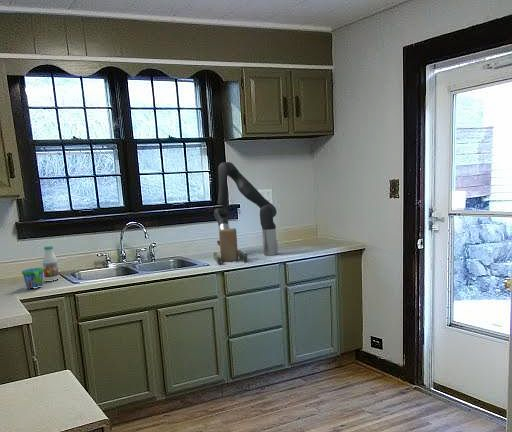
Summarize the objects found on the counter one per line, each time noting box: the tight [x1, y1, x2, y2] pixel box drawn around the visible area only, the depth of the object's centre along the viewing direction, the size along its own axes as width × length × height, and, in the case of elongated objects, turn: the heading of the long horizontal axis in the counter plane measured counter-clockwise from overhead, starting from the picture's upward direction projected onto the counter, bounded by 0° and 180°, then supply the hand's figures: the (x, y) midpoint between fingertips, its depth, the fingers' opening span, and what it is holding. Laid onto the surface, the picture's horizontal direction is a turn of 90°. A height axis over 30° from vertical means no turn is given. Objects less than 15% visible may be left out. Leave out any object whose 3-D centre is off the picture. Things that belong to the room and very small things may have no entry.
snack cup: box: [21, 267, 44, 289], centre depth 250 cm, size 16×10×10 cm
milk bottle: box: [42, 245, 60, 281], centre depth 267 cm, size 8×8×20 cm
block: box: [218, 228, 239, 263], centre depth 297 cm, size 10×10×20 cm
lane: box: [213, 249, 248, 266], centre depth 298 cm, size 18×26×4 cm
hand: (228, 252), depth 304 cm, fingers closed
